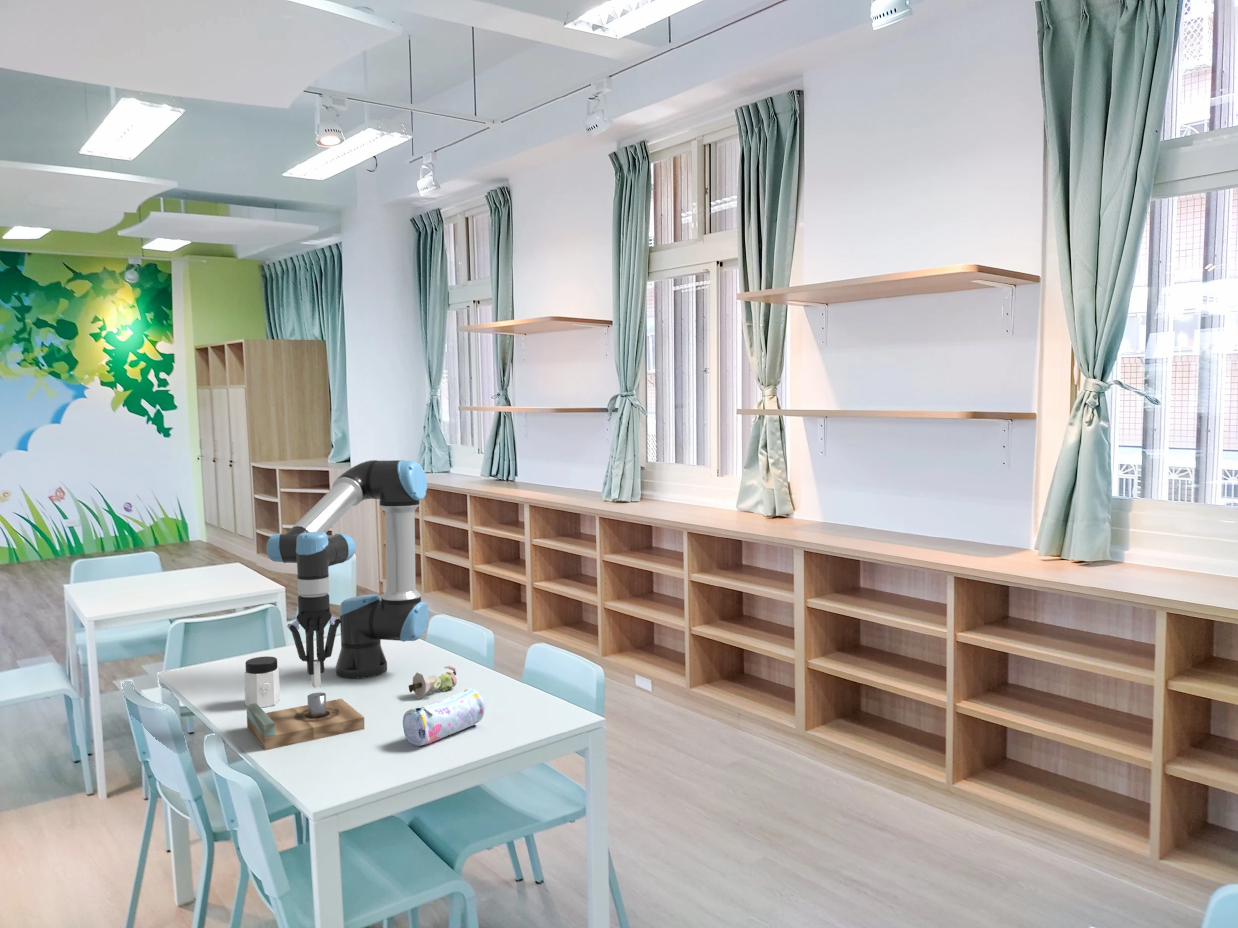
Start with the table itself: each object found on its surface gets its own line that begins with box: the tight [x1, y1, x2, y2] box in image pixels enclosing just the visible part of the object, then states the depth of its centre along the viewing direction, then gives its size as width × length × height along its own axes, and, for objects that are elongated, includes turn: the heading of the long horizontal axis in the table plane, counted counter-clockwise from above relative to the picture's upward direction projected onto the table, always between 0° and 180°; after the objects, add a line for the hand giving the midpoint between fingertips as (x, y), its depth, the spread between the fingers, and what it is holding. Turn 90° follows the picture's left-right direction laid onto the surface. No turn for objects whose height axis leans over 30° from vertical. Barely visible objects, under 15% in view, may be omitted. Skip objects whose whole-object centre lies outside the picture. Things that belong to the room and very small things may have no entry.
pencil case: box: [402, 688, 485, 747], centre depth 225 cm, size 21×9×10 cm, turn 141°
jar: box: [243, 655, 281, 709], centre depth 249 cm, size 9×8×12 cm
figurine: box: [408, 665, 457, 699], centre depth 258 cm, size 9×7×15 cm
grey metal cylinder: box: [307, 692, 327, 719], centre depth 231 cm, size 4×4×8 cm
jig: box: [246, 698, 365, 751], centre depth 230 cm, size 24×18×6 cm
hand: (316, 686), depth 231 cm, fingers closed
